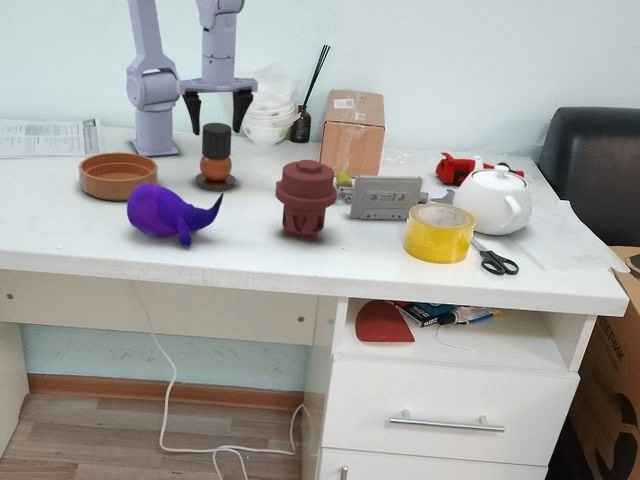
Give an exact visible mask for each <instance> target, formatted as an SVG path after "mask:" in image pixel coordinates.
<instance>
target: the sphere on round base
mask: <svg viewBox="0 0 640 480" xmlns="http://www.w3.org/2000/svg"><path fill="white" fill-rule="evenodd" d="M232 167H233V163H232V159H231V158H230V156H229V157H227V158H225V159H211V158H208V157H205V156H204V155H203V154H202V156H201V159H200V161H199V168H200V172H201V173H198V174H196V176H195V181H194V182H195V185H196V187H198V188H200V189H202V190H204V191H209V192H226V191H229V190H232V189H233V188H235V186H236V177H235V176H234V175H232V174H231V172H232V169H233V168H232Z"/></svg>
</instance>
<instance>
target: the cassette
mask: <svg viewBox="0 0 640 480" xmlns="http://www.w3.org/2000/svg"><path fill="white" fill-rule="evenodd" d="M423 181H424V180H423V178H422V176H409V175H408V176H407V175H405V176H404V175H355V177H354V184H353V188H354V190H353V196H352V201H351V204H350V211H349V216H350V218H351V219H361V220H410V219H409V211H410V209H411V208H412V207H414V206H416V205H419V202H418V201H419V196H420V192H421V190H422V185H423ZM380 193H393V197H392V198H390V197H379V196H380ZM372 194H374V195H373V196H370V195H372ZM401 194H402V196H401V197H398V196H399V195H401Z"/></svg>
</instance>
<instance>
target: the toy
mask: <svg viewBox="0 0 640 480" xmlns="http://www.w3.org/2000/svg"><path fill="white" fill-rule="evenodd" d="M224 195H225V194H224V192H221V194H220V196H219V197H218V198H217V200H216V201H215V203H214V204H213V205H212V206H211V207H210V208H208V209H205V208H202V207H197V206H195V205H193V204H192V203H187V202H186V201H185V200H183V198H182V197H181V196H180V195H178V194H177V193H176V192H174V191H172V190H171V189H169V188H167V187H165V186H163V185H159V184H158V185H156V184H143V185H140V186H138V187H137V188H135V189H134V190H133V192H132V193H131V195H130V197H129V200H127V204H126V216H127V219H128V221H129V224H130V225H131V226H132V227H134V228H136V229H137V230H138V231H139V232H140V233H142V234H144V235H146V236H150V237H152V238H156V239H165V238H166V239H167V238H172V237H176V236H178V240H179V243H180V244H181V245H182V246H184V247H188V246H189V247H190V245H191V244H192V243H193V238H192V236H191V233H192V232H196V231H199V230H202V229H204V228H206V227H209V226H210V225H212V224H213V223H214V221H215V220H216V218H217V217H218V214H219V211H220V208H221V205H222V202H223V199H224Z"/></svg>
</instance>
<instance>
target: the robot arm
mask: <svg viewBox="0 0 640 480" xmlns="http://www.w3.org/2000/svg"><path fill="white" fill-rule="evenodd" d="M126 1H127V6H128V12H129V18H130V24H131V31H132V36H133V41H134V49H135V53H136V56H135V58H134V59H133V60H132V61H131V62H130V63H129V65H128V66H127V67H126V68H125V71H126V72H125V73H126V85H125V86H126V94H127V98H128V100H129V101H130V103H131V104H132V106H133V107H135V112H134V118H135V119H134V121H135V122H134V123H135V138H132V139H131V143H132V145H133V146H134V148H135V150H136V151H137V154H138V155H142V156H145V157H154V156H155V157H156V156H168V155H169V156H170V155H178V154H179V151H178V149H177V148H176V146H175V145H174V142H173V141H174V139H173V138H174V137H173V136H174V135H173V132H174V131H173V130H174V129H173V125H174V123H173V121H174V120H173V118H174V117H173V116H174V115H173V108H175V107H176V104H177V103H176V102H178V101H179V100H180V98H181V97H182V99H183V101H184V104H185V106H186V109H187V111H188V115H189V118H190V123H191V128H192V133H193V134H194V135H195V136H200V134H201V122H200V121H201V120H200V119H201V118H200V116H201V107H202V101H203V100H201V99H200V95H199V94H214V93H231V94H232V121H231V122H232V127H231V128H232V131H233V132H234V133H235V134H240V131H241V127H242V124H243V121H244V119H245V116H246V114H247V111H248V110H249V108H250V106H251V105H252V104H253V101H254V96H255V95H254V94H253V93H258V91H259V90H258V88H259V81H258V80H257V79H256V78H254V77H251V78H249V77H245V78H244V77H235V67H236V65H235V64H236V40H237V18H238V14H240V13H241V12H242V11H243V9H244V7H245V2H246V0H195V4H196V8H197V10H198V13H199V14H198V15H199V16H198V17H199V23H200V26H201V27H202V39H201V41H202V42H201V46H202V47H201V77H196V78H189V79H180V76H179V74H178V71H177V65H176V63H175V61H173V60H172V59H171V58H169V57H168V55H166V54H164V49H163V45H162V43H163V42H162V37H161V31H160V25H159V24H160V23H159V18H158V11H157V5H156V0H126ZM150 70H151V71H152V70H158V71H152V72H151V71H150ZM146 71H150V72H146Z"/></svg>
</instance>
